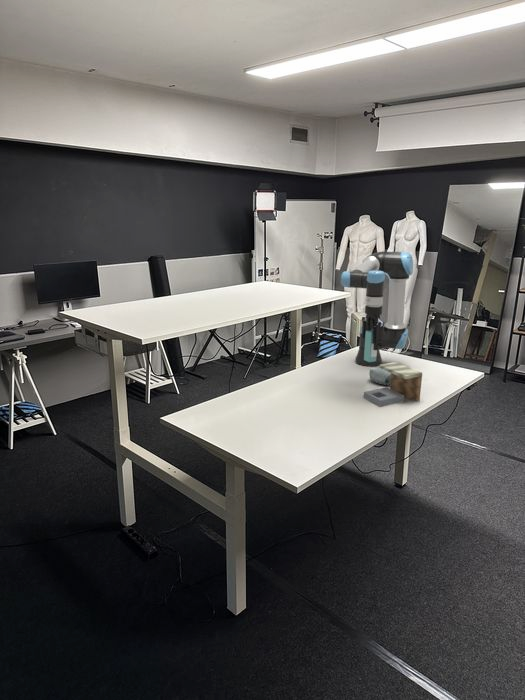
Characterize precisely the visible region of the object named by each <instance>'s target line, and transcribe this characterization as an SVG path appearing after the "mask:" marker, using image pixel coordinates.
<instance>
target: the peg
mask: <svg viewBox="0 0 525 700" xmlns="http://www.w3.org/2000/svg"><path fill="white" fill-rule="evenodd" d="M372 342H373V333H372V330H370V331H366V334H365V350H364V360H365V361H368V362H374V361H376V356H375V357H371V347H372Z"/></svg>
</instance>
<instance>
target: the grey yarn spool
mask: <svg viewBox="0 0 525 700" xmlns="http://www.w3.org/2000/svg"><path fill="white" fill-rule="evenodd" d="M368 374H369V379H370V380H371V381H372V382H374V383H377V384H379V385H383V386H390V383H391V373H390V372H388V371H385V370H383V369H381V368H379V366H372V367H371V368H370V369H369V372H368Z"/></svg>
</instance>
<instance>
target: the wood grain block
mask: <svg viewBox="0 0 525 700" xmlns="http://www.w3.org/2000/svg"><path fill="white" fill-rule="evenodd" d="M378 367H379V368H381V369H383V370H385V371H388V372H390V373H391V383H390V385H389V388H390V389H392V390H394V391H396V392H398V393H400V394H402V395H404V398H408V399H410V400H412V401H414V402H420V399H421V389H422V380H423V372H422V371H419V370H417V369H414V368H412V367H409V366H407V365H404V364H401V363H399V362H396V361H393V362H387V363H383V364H382V363H381V365H378Z"/></svg>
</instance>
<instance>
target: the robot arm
mask: <svg viewBox="0 0 525 700" xmlns="http://www.w3.org/2000/svg"><path fill="white" fill-rule="evenodd" d="M413 273H414V259H413V255H412V254H411V253H410V252H404V251H377V252H374V253H372V254H369V255H367V256H365V258H364V259H362V262H361V263H360V264H358V266H356V267H355V268H354V269H352V271H350V270H348V271H347V270H346V271H343V272H342V273H341V276H340V285H341V286H342V287H343V288H352V289H365V290H366V291H365V307H364V314H365V316H362V317H361V321H362V323H361V324H362V325H361V326H360V327H359V329H360V330H359V341H358V342H359V343H358V351H357V353H356V356H355V358H354V359H355V360H354V362H355V364H357V365H359V366H364V367H379V365H382V362H383V361H382V356H381V351H380V348H384V349H385V348H386V349H387V348H388V349H393V350H394V349H395V350H403V349H404V348H405V347H406V343H407V340H408V337H409V329H408V328H407V326H406V324H405V323H404V317H405V303H406V302H405V300H406V290H407V289H406V287H407V281H408V279H409V278H410V276H412V275H413ZM387 287H388V288H389V289H388V301H387V302H388V303H387V304H388V305H387V318H386V319H387V321H386V323H385V322H384V321H382V320H381V315H382V314H383V305H384V291H385V290H384V289H387ZM370 330H372V333H373V342H372V347H371V357H375V356H376V361H374V362H368V361H365V360H364V350H365V334H366V331H370Z"/></svg>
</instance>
